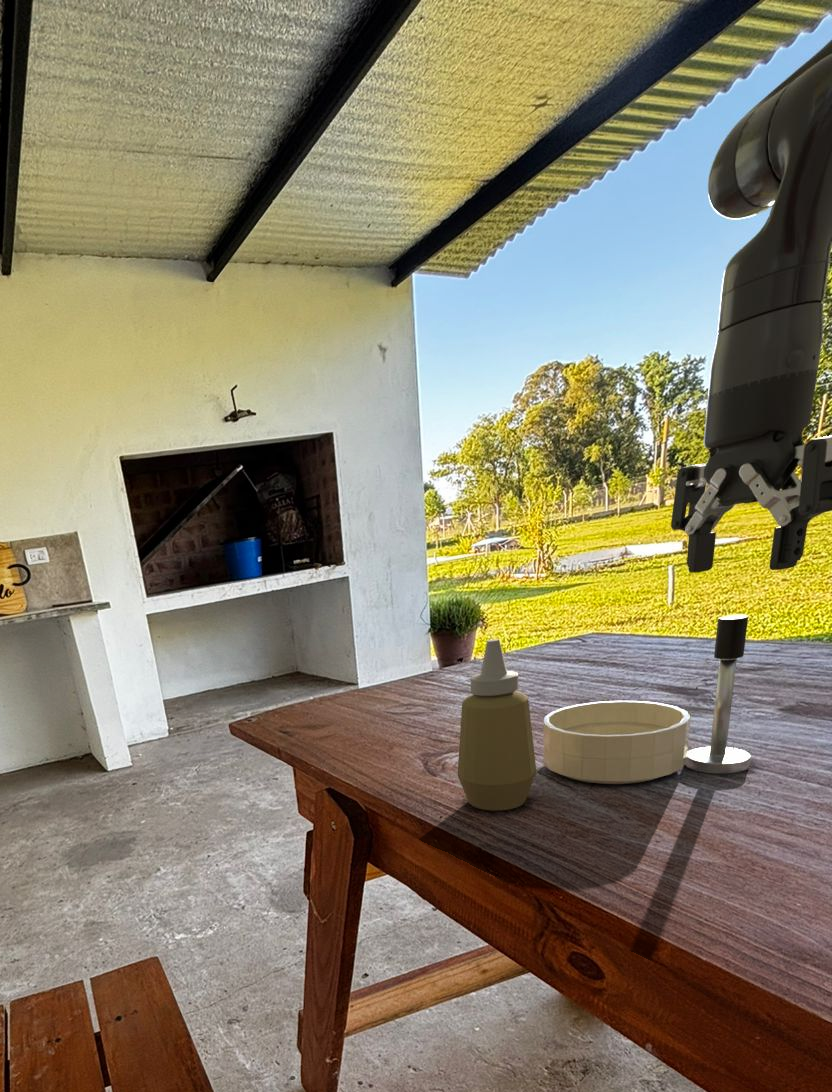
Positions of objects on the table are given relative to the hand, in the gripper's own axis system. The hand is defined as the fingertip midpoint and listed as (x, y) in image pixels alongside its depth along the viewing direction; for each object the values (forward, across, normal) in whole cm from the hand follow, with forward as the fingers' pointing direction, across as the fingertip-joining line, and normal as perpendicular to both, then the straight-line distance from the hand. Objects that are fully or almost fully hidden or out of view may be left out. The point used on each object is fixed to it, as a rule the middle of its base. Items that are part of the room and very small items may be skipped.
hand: (738, 570), depth 60 cm
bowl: (+21, +6, +8) cm, 23 cm away
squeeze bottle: (+21, +4, +24) cm, 32 cm away
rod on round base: (+20, 0, 0) cm, 21 cm away
